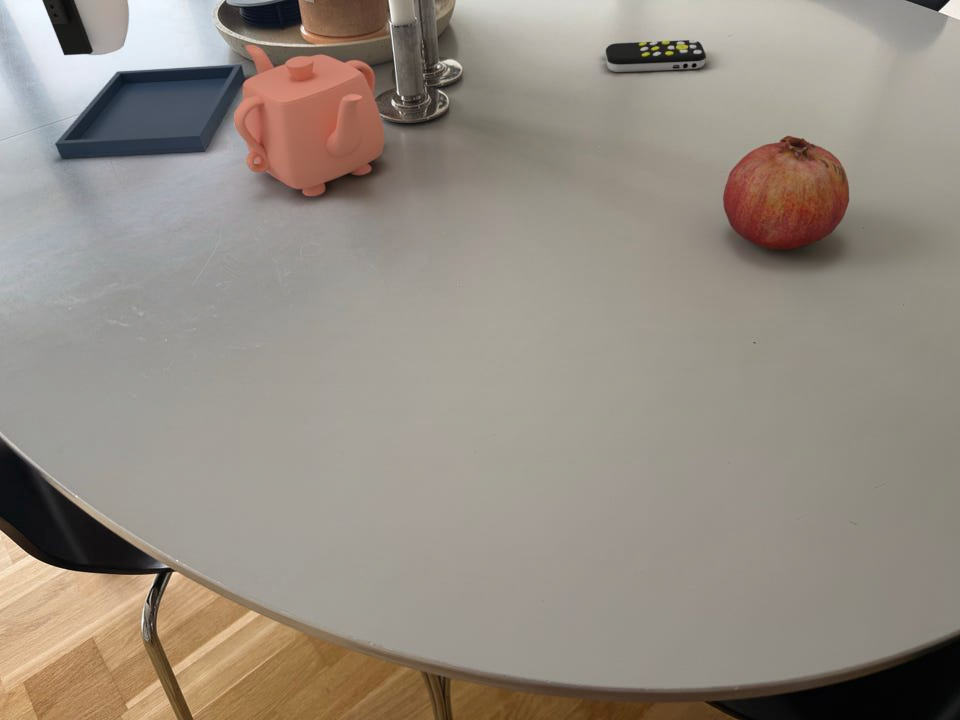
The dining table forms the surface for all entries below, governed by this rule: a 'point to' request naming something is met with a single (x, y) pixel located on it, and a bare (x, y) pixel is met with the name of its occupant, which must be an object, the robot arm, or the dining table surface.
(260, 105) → the teapot
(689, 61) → the remote control
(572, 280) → the dining table surface
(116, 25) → the cup
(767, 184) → the fruit
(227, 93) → the tray
